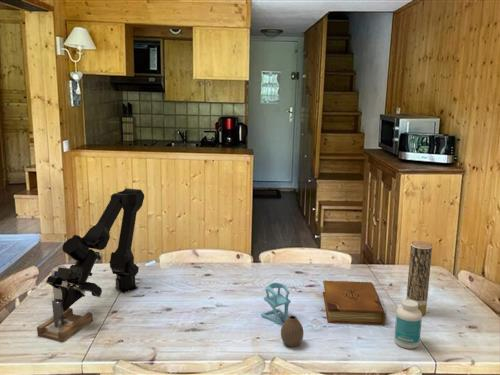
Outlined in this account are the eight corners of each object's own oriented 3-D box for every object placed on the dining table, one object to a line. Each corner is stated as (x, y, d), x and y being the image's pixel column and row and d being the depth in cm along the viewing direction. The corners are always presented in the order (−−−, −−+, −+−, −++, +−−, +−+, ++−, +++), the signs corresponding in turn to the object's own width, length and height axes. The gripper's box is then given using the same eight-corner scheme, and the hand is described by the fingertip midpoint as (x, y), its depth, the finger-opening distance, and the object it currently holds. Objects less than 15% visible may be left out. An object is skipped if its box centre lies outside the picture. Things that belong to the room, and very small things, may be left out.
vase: (279, 337, 145) (279, 312, 143) (300, 336, 145) (301, 311, 143) (282, 350, 138) (283, 323, 136) (305, 349, 139) (306, 322, 137)
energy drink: (64, 302, 167) (61, 271, 165) (50, 301, 168) (47, 270, 166) (72, 296, 172) (69, 266, 170) (59, 295, 174) (56, 265, 171)
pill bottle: (423, 349, 139) (427, 308, 136) (399, 350, 138) (403, 309, 135) (413, 336, 146) (416, 296, 143) (390, 337, 145) (393, 297, 142)
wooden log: (425, 309, 164) (431, 242, 158) (426, 318, 157) (432, 248, 152) (405, 306, 166) (411, 240, 160) (405, 314, 160) (410, 246, 154)
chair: (274, 326, 151) (275, 293, 149) (260, 316, 158) (261, 283, 156) (293, 320, 156) (294, 287, 153) (278, 310, 162) (279, 278, 160)
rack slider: (59, 323, 151) (56, 296, 149) (74, 326, 149) (71, 299, 147) (45, 332, 145) (42, 304, 143) (60, 335, 143) (57, 307, 141)
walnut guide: (69, 315, 158) (68, 306, 157) (93, 321, 154) (92, 312, 154) (37, 335, 145) (36, 326, 144) (62, 342, 142) (62, 332, 141)
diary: (384, 327, 153) (385, 311, 151) (327, 324, 154) (328, 308, 153) (372, 295, 175) (373, 281, 174) (322, 293, 176) (323, 279, 175)
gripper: (47, 252, 152) (24, 297, 144) (93, 259, 145) (71, 307, 138) (66, 266, 161) (45, 309, 153) (111, 274, 154) (91, 319, 147)
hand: (62, 311), depth 147 cm, fingers closed
